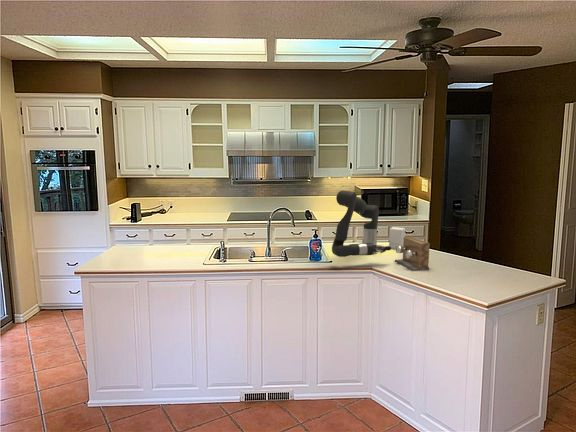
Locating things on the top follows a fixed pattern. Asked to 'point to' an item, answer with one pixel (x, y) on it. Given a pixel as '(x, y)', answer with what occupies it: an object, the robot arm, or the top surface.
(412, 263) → the knob panel
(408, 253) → the knob
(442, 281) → the top surface
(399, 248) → the knob
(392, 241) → the supplement box
